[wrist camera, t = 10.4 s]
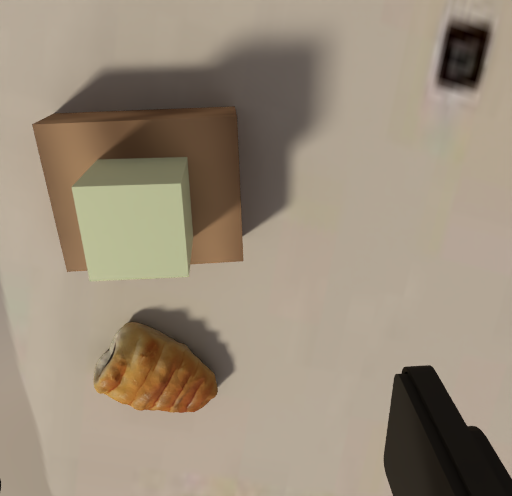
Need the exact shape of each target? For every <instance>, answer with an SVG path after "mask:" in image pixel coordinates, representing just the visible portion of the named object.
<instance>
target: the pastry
mask: <svg viewBox="0 0 512 496" xmlns="http://www.w3.org/2000/svg"><path fill="white" fill-rule="evenodd" d="M94 387H95V389H96V391H97V392H98V393H104V394H106V395H108V396H109V397H111V398H112V399H114V400H116V401H118V402H120V403H122V404H128V405H130V406H132V407H133V408H134V409H137V410H161V411H168V412H180V413H183V412H195V411H197V410H199V409H200V408H202V407H204V406H205V405H206V404H207V403H208V402H209V401H210V400H211V399H212V398H214V397H215V396H216V395H217V392H218V388H217V383H216V379H215V375H214V373H213V372H212V371H211V370H210V369H209V368H207V366H206V365H204V364H203V363H202V362H201V361H200V359H199V358H197V357H196V356H195V355H194V354H193V353H192V352H191V351H190V350H189V348H188V347H187V346H186V345H185V344H183V343H178V342H176V341H175V340H174V339H172V338H170V337H168V336H166V335H164V334H163V333H161V332H160V331H158V330H155V329H153V328H151V327H148V326H146V325H143V324H140V323H137V322H130V323H126V324H125V325H124V326H123V327H122V328H121V329H120V330H119V331H118V332H117V333H116V335H115V337H114V339H113V342H112V343H111V346H110V349H109V351H107V352H106V353H104V354H103V355H102V356H101V358H100V359H99V361H98V363H97V364H96V367H95V371H94Z"/></svg>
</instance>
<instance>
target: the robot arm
mask: <svg viewBox="0 0 512 496" xmlns="http://www.w3.org/2000/svg"><path fill="white" fill-rule="evenodd" d="M384 467H385V472H386V476H387V479H388V482H389V485H390V488H391V491H392V494H393V496H512V479H511V477H510V475H509V474H508V472H507V470H506V469H505V467H504V465H503V464H502V462H501V460H500V459H499V457H498V456H497V454H496V452H495V451H494V449H493V447H492V446H491V444H490V442H489V441H488V439H487V437H486V436H485V435H484V433H483V432H482V431H481V430H480V429H479V428H477V427H475V426H467V425H466V423H465V422H464V420H463V418H462V417H461V415H460V413H459V411H458V410H457V408H456V406H455V404H454V403H453V401H452V399H451V397H450V396H449V394H448V392H447V390H446V389H445V387H444V385H443V383H442V382H441V380H440V378H439V376H438V375H437V373H436V371H435V370H434V368H433V367H432V366H430V365H429V366H411V367H404V368H403V370H402V374H396V375H395V377H394V383H393V391H392V398H391V406H390V413H389V421H388V428H387V436H386V443H385V451H384ZM0 490H1V481H0Z"/></svg>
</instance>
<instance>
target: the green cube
mask: <svg viewBox="0 0 512 496" xmlns="http://www.w3.org/2000/svg"><path fill="white" fill-rule="evenodd" d="M72 192H73V197H74V202H75V208H76V213H77V218H78V223H79V228H80V233H81V239H82V244H83V249H84V254H85V259H86V265H87V270H88V275H89V280H90V281H108V280H131V279H153V278H175V277H189V270H190V261H191V253H192V244H193V227H192V213H191V200H190V187H189V174H188V160H187V157H168V158H132V159H97V160H96V162H95V163H94V164H93V165H92V166H91V167H90V168H89V169H88V170H87V171H86V172H85V173H84V174H83V175H82V176H81V177H80V178H79V180H78V181H77V182H76V183H75V184H74V185H73V186H72Z"/></svg>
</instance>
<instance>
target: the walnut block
mask: <svg viewBox="0 0 512 496" xmlns="http://www.w3.org/2000/svg"><path fill="white" fill-rule="evenodd" d="M32 126H33V130H34V134H35V138H36V142H37V147H38V151H39V155H40V159H41V164H42V168H43V172H44V176H45V180H46V185H47V189H48V193H49V197H50V201H51V206H52V210H53V214H54V218H55V223H56V227H57V231H58V235H59V239H60V244H61V248H62V252H63V256H64V260H65V265H66V269H67V272H70V271H87V265H86V259H85V254H84V249H83V244H82V239H81V233H80V228H79V223H78V218H77V213H76V208H75V202H74V197H73V192H72V186H73V185H74V184H75V183H76V182H77V181H78V180H79V178H80V177H81V176H82V175H83V174H84V173H85V172H86V171H87V170H88V169H89V168H90V167H91V166H92V165H93V164H94V163H95V162H96V160H97V159H132V158H168V157H187V160H188V174H189V187H190V200H191V213H192V227H193V244H192V253H191V261H190V264H203V263H220V262H236V261H243V243H242V220H241V197H240V174H239V151H238V128H237V114H236V110H235V106H233V107H208V108H182V109H157V110H131V111H106V112H80V113H55V114H52V115H50V116H48V117H46V118H44V119H42V120H40V121H38V122H36V123H34V124H32Z"/></svg>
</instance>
